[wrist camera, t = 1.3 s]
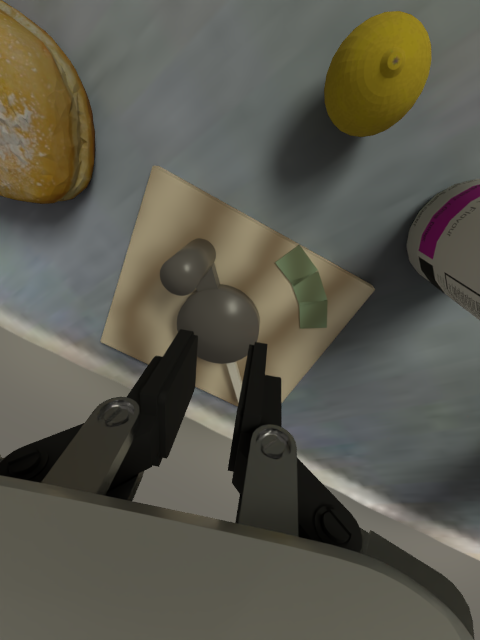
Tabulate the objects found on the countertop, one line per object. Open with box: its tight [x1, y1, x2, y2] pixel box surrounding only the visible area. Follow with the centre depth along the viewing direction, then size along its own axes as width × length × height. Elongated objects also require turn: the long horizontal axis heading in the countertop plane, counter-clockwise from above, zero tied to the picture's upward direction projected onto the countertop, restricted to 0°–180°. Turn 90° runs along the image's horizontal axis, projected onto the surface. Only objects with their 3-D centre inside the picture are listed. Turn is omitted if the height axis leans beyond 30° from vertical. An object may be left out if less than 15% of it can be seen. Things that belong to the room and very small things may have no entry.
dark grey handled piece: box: [160, 238, 260, 403], centre depth 27 cm, size 19×8×6 cm, turn 13°
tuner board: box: [101, 166, 375, 406], centre depth 30 cm, size 22×20×1 cm
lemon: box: [324, 11, 431, 137], centre depth 17 cm, size 6×6×8 cm
